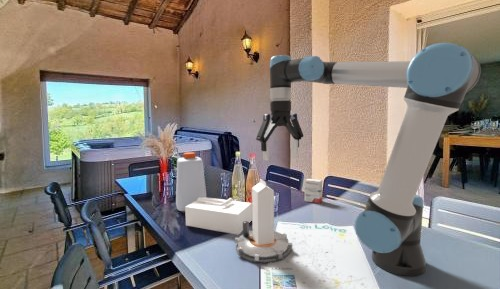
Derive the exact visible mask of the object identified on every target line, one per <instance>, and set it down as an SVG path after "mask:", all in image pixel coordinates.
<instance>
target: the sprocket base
mask: <svg viewBox="0 0 500 289" xmlns="http://www.w3.org/2000/svg"><path fill="white" fill-rule="evenodd" d="M235 248H236V249H235V250H236V252H237V248H238V243H236V246H235ZM290 251H291V249H288V250H287V252H286V253H285V254H283V255H282V258H280V259H278V258H277V257H276V258H271V259H259V261H256V260H255V258H251V257H248V256H246V255H244V254H242V253H241V254H238V253H237V255H238V256H239V257H240V258H241V259H243V260H246V261H249V262H252V263H256V264H270V262H272V263H276V262H280V261H282V260H283V259H285V258H287V257H288V255H289V254H290ZM279 260H280V261H279ZM275 261H276V262H275Z"/></svg>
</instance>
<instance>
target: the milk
mask: <svg viewBox="0 0 500 289" xmlns="http://www.w3.org/2000/svg"><path fill="white" fill-rule="evenodd" d="M251 198H252V199H251V203H252V222H251V223H252V231H253V239H254V241H255V242H256V243H257V245H258V246H259V245H264V244H270V243H274V231H275V190H274V189H272V188H271V187H269V186H268V185H267V182H266V181H264V179H261V178H259V182H258V183H256V185H254V186H252V187H251Z"/></svg>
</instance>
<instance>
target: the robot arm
mask: <svg viewBox="0 0 500 289" xmlns="http://www.w3.org/2000/svg"><path fill="white" fill-rule="evenodd" d="M481 71H482V69H481V64H480V62H479V60H478V58H476V56H474V55H473V54H472V53H471V52H470V51H469V50H468V49H467V48H466V47H464V46H462V45H460V44H455V43H452V42H438V43H433V44H431V45H428V46H426V47H424V48H423V49H421V50H419V51H418V52H417V53H416V54H415V55H414V56H413V58H412V59H411V60H410V61H409V60H407V61H403V60H402V61H324V60H322V59H321V57H320V56H317V55H313V56H310V55H308V56H305V57H301V58H300V57H299V58H296V59H292V57H291V56H290V55H287V54H279V55H278V54H277V55H273V56H272V57H271V58H270V61H269V78H270V79H269V81H270V86H269V90H270V92H269V96H270V97H269V98H270V100H271V101H270V102H269V103H270V104H269V105H270V106H269V109H270V113H264V114H263V118H262V119H263V120H262V123H261V125H260V127H259V131H258V133H257V135H256V138H255V139H256V141H258V142H260V144H261V146H260V147H261V148H260V150H261V152H262V160H263V161H266V162H268V161H269V162H270V142H269V141H268V140H269V139H270V137H271V136H272V135H273V133H274V131H275V129H276V128H277V127H285V128H286V129H287V130H288V132H289V134H290V135H291V137H292V139H291V157H296V158H298V157H299V147H300V140H301V139H302V138H304V133H303V131H302V127H301V126H300V122H299V119H298V114H297V113H292V112H291V111H292V101H291V99H292V83H297V82H298V83H299V82H300V83H301V82H306V83H307V82H308V83H318V84H323V85H347V86H348V85H349V86H367V87H384V88H385V87H386V88H400V89H401V88H403V89H404V88H406V91H405V92H404V93H405V94H404V96H403V100H404V101H405V103H406V105H407V109H406V111H405V113H404V117H403V118H402V119H403V120H402V121H401V122H402V123H401V124H400V128H399V131H398V133H397V136H396V138H395V142H394V144H393V148H392V150H391V154H390V156H389V158H388V159H389V160H388V161H387V164H386V167H385V170H384V173H383V175H382V178H381V181H380V183H379V186H378V189H377V190H376V191H373V192H371V193H370V194H369V196H368V200H367V203H366V205H365V208H364V210H363V211H361V212H360V213H359V214H358V216H357V217H356V219H355V221H354V230H355V233H356V235H357V237H358V239H359V241H360V242H361V243H362V244H363V245H364V246H365V247H366V248H368V249H369V250H371V260H372V262H373V263H374V264H375V265H376V266H377V267H379V268H380V269H382V270H384V271H386V272H389V273H392V274H396V275H399V276H405V277H417V276H420V275H422V274H424V273H425V272H426V267H427V263H426V262H427V261H426V258H425V254H424V252H423V248H422V246H421V245H422V244H421V240H422V239H421V237H422V226H423V225H422V224H423V211H424V200H423V198H422V197H421V196H420V195H418V194H417V193H418V190H419V188H420V185H421V183H422V180H423V177H424V176H425V173H426V171H427V168H428V166H429V163H430V161H431V158H432V156H433V154H434V150H435V149H436V146H437V144H438V142H439V139H440V136H441V134H442V132H443V128H444V126H445V124H446V121H447V119H448V116H450V115H451V114H454V113H455V112H458V111H459V110H460V107H461V105H462V103H463V101H464V98H465V95H466V93H468V92H469V91H471V90H472V89H473V88H474V87H475V86H476V85H477V83H478V82H479V79H480V76H481Z"/></svg>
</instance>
